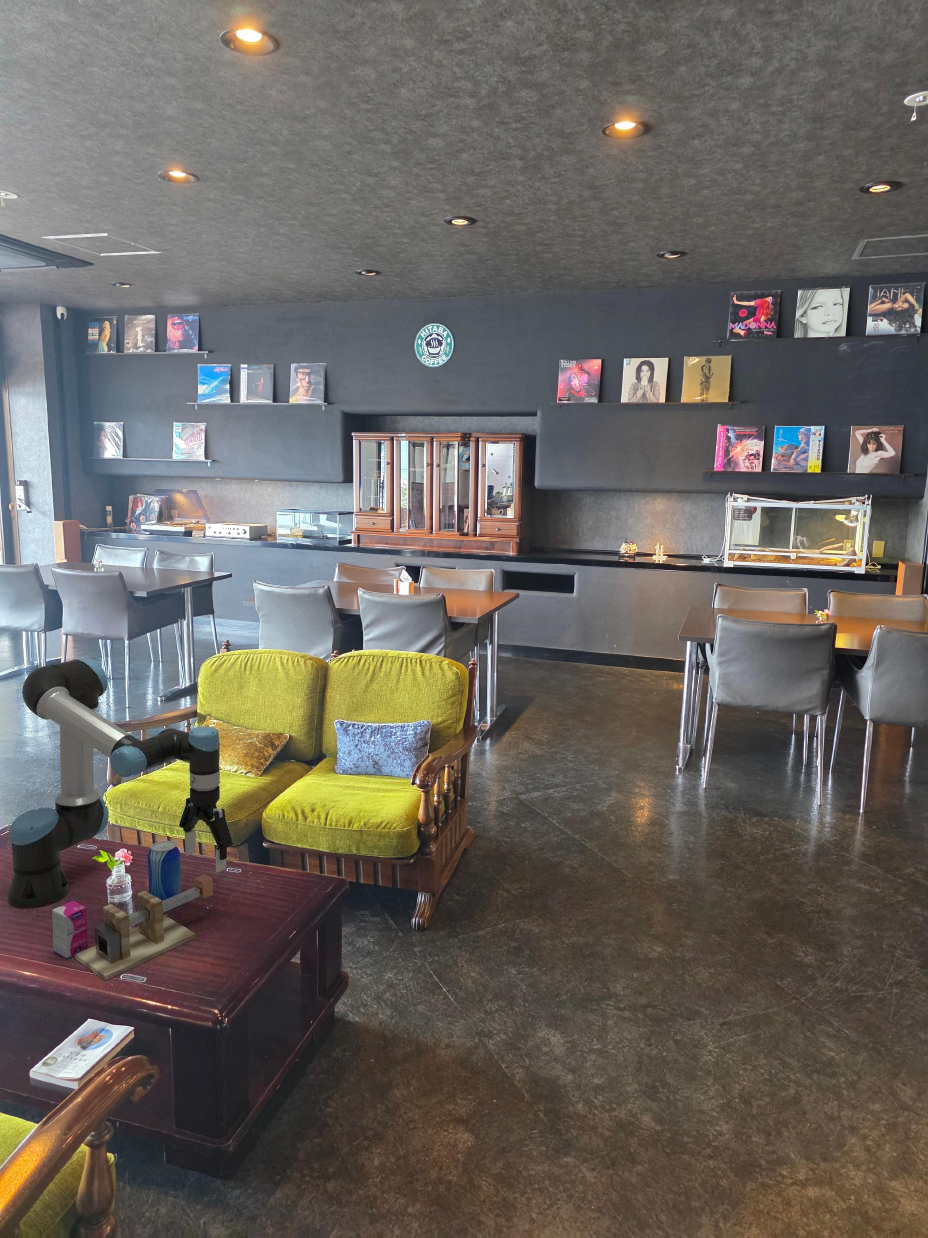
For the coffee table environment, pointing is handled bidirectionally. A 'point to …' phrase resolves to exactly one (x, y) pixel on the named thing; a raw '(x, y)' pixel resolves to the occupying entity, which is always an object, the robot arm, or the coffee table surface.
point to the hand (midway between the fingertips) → (205, 862)
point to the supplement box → (69, 929)
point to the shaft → (178, 898)
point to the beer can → (164, 870)
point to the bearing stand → (137, 938)
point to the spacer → (107, 943)
